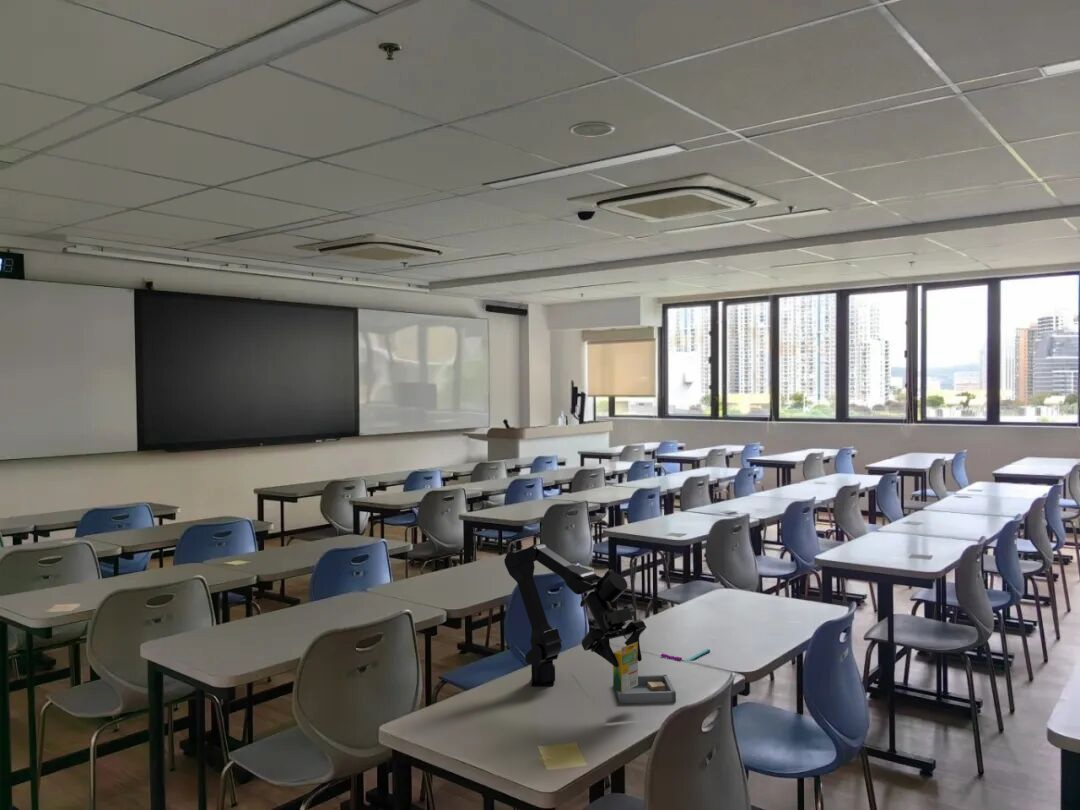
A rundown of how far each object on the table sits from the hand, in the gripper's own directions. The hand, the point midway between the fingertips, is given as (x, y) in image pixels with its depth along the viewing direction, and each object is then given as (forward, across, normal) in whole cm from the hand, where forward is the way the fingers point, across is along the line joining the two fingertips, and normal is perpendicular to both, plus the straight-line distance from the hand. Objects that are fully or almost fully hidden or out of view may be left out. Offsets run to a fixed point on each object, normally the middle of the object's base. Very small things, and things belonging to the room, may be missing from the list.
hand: (629, 663), depth 207 cm
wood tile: (+3, +17, +14) cm, 23 cm away
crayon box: (+4, 0, +6) cm, 7 cm away
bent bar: (-6, +39, +27) cm, 48 cm away
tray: (+4, +12, +14) cm, 19 cm away
